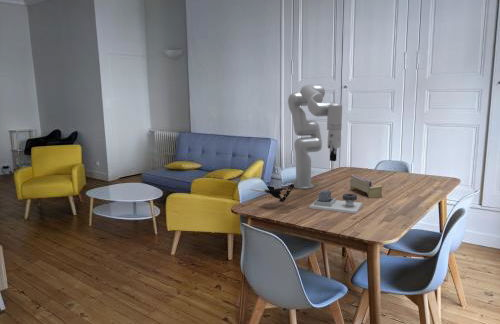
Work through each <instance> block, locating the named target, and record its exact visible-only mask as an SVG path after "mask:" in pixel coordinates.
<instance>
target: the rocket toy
mask: <svg viewBox="0 0 500 324" xmlns="http://www.w3.org/2000/svg"><path fill="white" fill-rule="evenodd" d="M294 188H295V187H294V184H289V187H287V188H280V187H278V188H273V189H260V188H250V189H249V191H253V192H258V193H262V194H263V193H265V194H269V195H271V196H272V197H274V198H276V199H279V201H278V202H280V203H284V202H285V201H286V199H287V198H288V196H289V195H290V194H291V192H292V191H293V189H294ZM284 190H286V192H285V193H283V196H281V194H282V192H283V191H284Z"/></svg>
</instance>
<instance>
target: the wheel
mask: <svg viewBox="0 0 500 324" xmlns="http://www.w3.org/2000/svg"><path fill="white" fill-rule="evenodd" d="M357 200H358V195H357V194H356V193H344V194H342V201H354V202H356V201H357Z"/></svg>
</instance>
